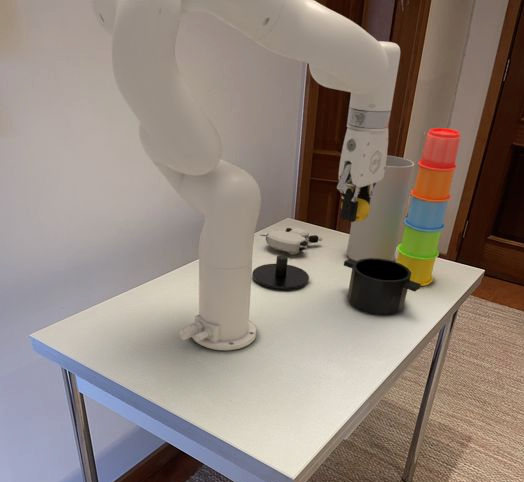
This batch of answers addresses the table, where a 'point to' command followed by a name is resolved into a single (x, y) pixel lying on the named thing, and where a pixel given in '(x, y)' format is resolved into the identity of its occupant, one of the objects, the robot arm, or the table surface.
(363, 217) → the duck
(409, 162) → the cylinder vase
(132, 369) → the table surface
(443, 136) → the stacking cups
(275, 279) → the pan lid
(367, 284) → the pan
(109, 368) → the table surface
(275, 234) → the robot toy
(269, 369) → the table surface
